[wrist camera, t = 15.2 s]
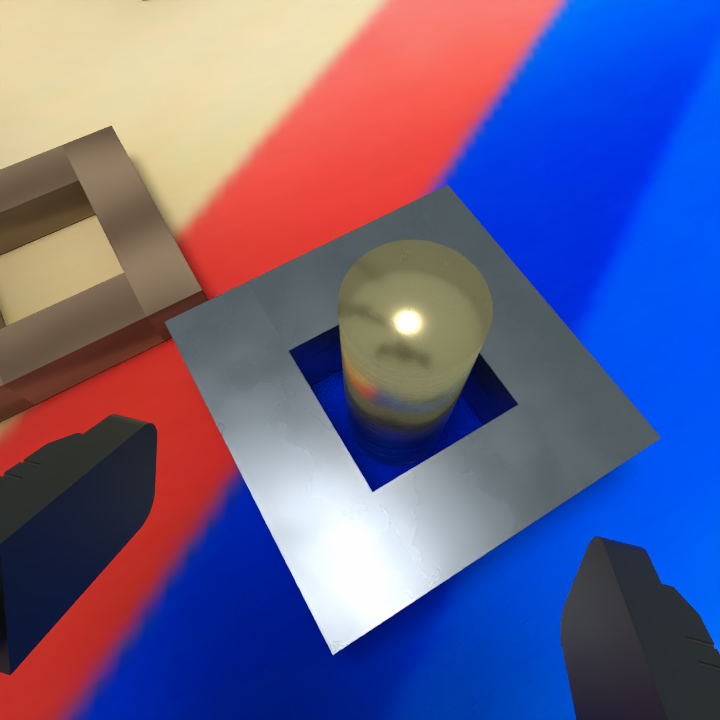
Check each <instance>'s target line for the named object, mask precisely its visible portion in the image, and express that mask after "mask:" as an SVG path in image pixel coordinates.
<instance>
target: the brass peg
mask: <svg viewBox="0 0 720 720" xmlns="http://www.w3.org/2000/svg"><path fill="white" fill-rule="evenodd" d="M492 316H493V303H492V298H491V293H490V290H489V288H488V285H487V283H486V281H485V279H484V277H483V276H482V274H481V273H480V272H479V270H478V269H477V268H476V267H475V266H474V265H473V264H472V263H471V262H470V261H469V260H468V259H467V258H466V257H464V256H463V255H461V254H460V253H458V252H457V251H455V250H453V249H451V248H449V247H446V246H444V245H441V244H438V243H434V242H430V241H424V240H401V241H395V242H391V243H387V244H384V245H381V246H379V247H377V248H374V249H373V250H371V251H369V252H367V253H366V254H365V255H363V256H362V257H361V258H359V259H358V260H357V261H356V262H355V263H354V264H353V265H352V267H351V268H350V269H349V271H348V272H347V274H346V276H345V277H344V279H343V281H342V284H341V286H340V290H339V295H338V317H339V330H340V342H341V355H342V367H343V380H344V392H345V405H346V417H347V426H348V431H349V433H350V436H351V438H352V440H353V442H354V443H355V445H356V446H357V447H358V448H359V450H360V451H361V452H363V453H364V454H365V455H366V456H368V457H369V458H371V459H373V460H375V461H377V462H379V463H383V464H387V465H406V464H410V463H413V462H416V461H418V460H420V459H422V458H423V457H425V456H426V455H428V454H429V453H430V452H431V451H432V450H433V448H434V447H435V446H436V445H437V443H438V441H439V439H440V437H441V435H442V433H443V431H444V428H445V426H446V424H447V422H448V420H449V417H450V415H451V413H452V411H453V409H454V407H455V404H456V402H457V400H458V398H459V396H460V393H461V391H462V389H463V387H464V385H465V383H466V380H467V378H468V376H469V374H470V372H471V369H472V367H473V365H474V363H475V361H476V359H477V356H478V354H479V352H480V350H481V348H482V345H483V343H484V341H485V339H486V337H487V334H488V332H489V330H490V326H491V322H492Z"/></svg>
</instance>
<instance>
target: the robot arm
mask: <svg viewBox="0 0 720 720" xmlns="http://www.w3.org/2000/svg"><path fill="white" fill-rule="evenodd" d="M156 453H157V430H156V427H155V425H153V424H152V423H148V422H144V421H140V420H136V419H132V418H128V417H124V416H120V415H116V414H113V415H110V416H108V417H107V418H105V419H104V420H102V421H101V422H100V423H98V424H97V425H95V426H94V427H93V428H91V429H90V430H88V431H87V432H86V433H84V434H80V433H76V434H73V435H70V436H67V437H64V438H62V439H59V440H56V441H53V442H50V443H48V444H46V445H45V446H43V447H42V448H40V449H39V450H37V451H36V452H34V453H33V454H31V455H30V456H28V457H27V458H25V459H24V462H23V463H20V462H19V463H18V464H16V465H15V466H14V467H12V468H11V469H9V470H8V471H6V472H5V474H4V476H3V477H1V476H0V672H2V673H5V674H8V675H11V674H12V673H13V672H14V670H15V669H16V668H17V667H18V666H19V665H20V664H21V663H22V661H23V660H24V659H25V658H26V657H27V656H28V655H29V653H30V652H31V651H32V650H33V649H34V648H35V647H36V646H37V644H38V643H39V642H40V641H41V640H42V639H43V638H44V637H45V635H46V634H47V633H48V632H49V631H50V630H51V629H52V627H53V626H54V625H55V624H56V623H57V622H58V621H59V620H60V618H61V617H62V616H63V615H64V614H65V613H66V612H67V611H68V609H69V608H70V607H71V606H72V605H73V604H74V603H75V601H76V600H77V599H78V598H79V597H80V596H81V595H82V594H83V592H84V591H85V590H86V589H87V588H88V587H89V586H90V585H91V583H92V582H93V581H94V580H95V579H96V578H97V577H98V575H99V574H100V573H101V572H102V571H103V570H104V569H105V568H106V566H107V565H108V564H109V563H110V562H111V561H112V560H113V559H114V557H115V556H116V555H117V554H118V553H119V552H120V551H121V549H122V548H123V547H124V546H125V545H126V544H127V543H128V542H129V540H130V539H131V538H132V537H133V536H134V535H135V534H136V533H137V531H138V530H139V529H140V528H141V527H142V525H143V524H144V522H145V521H146V519H147V517H148V515H149V513H150V510H151V508H152V504H153V501H154V495H155V476H156ZM561 643H562V649H563V654H564V659H565V664H566V669H567V674H568V679H569V684H570V689H571V694H572V699H573V704H574V709H575V714H576V719H577V720H720V654H719V652H718V650H717V649H714V647H713V646H714V643H713V641H712V639H711V637H710V635H709V633H708V631H707V629H706V627H705V625H704V623H703V621H702V619H701V617H700V615H699V614H698V613H697V612H696V611H695V610H694V609H693V608H692V606H691V605H690V604H689V603H688V602H687V601H686V600H685V599H684V598H683V597H682V596H681V595H680V594H679V592H678V591H677V590H676V589H675V588H674V587H672V586H668V585H664V584H661V582H660V579H659V577H658V575H657V573H656V571H655V569H654V566H653V564H652V562H651V560H650V558H649V556H648V554H647V552H646V551H645V549H643V548H642V547H638V546H634V545H630V544H626V543H622V542H618V541H614V540H610V539H606V538H602V537H598V536H597V537H594V538H593V539H592V540H591V542H590V543H589V545H588V547H587V550H586V552H585V555H584V557H583V560H582V562H581V565H580V567H579V570H578V572H577V575H576V577H575V580H574V582H573V585H572V587H571V590H570V592H569V595H568V597H567V600H566V602H565V605H564V609H563V613H562V619H561Z"/></svg>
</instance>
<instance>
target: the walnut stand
mask: <svg viewBox="0 0 720 720" xmlns="http://www.w3.org/2000/svg"><path fill="white" fill-rule="evenodd" d="M94 214H96V216H97V218H98V220H99V222H100V224H101V226H102V228H103V230H104V232H105V234H106V236H107V238H108V240H109V242H110V244H111V246H112V248H113V250H114V252H115V254H116V256H117V258H118V260H119V262H120V264H121V266H122V268H123V270H124V273H122V274H120V275H118V276H116V277H114V278H111V279H109V280H107V281H105V282H103V283H100V284H98V285H96V286H94V287H92V288H89V289H87V290H85V291H83V292H81V293H78V294H76V295H74V296H72V297H70V298H67V299H65V300H63V301H61V302H59V303H57V304H54V305H52V306H50V307H48V308H46V309H43V310H41V311H39V312H37V313H35V314H32V315H30V316H28V317H26V318H24V319H21V320H19V321H17V322H15V323H13V324H11V325H8V326H5V323H4V320H3V318H2V315H1V312H0V422H1V421H3V420H5V419H7V418H9V417H11V416H13V415H15V414H17V413H19V412H21V411H23V410H25V409H27V408H29V407H31V406H33V405H36V404H38V403H40V402H42V401H44V400H46V399H48V398H50V397H52V396H54V395H56V394H58V393H60V392H62V391H64V390H66V389H68V388H70V387H72V386H74V385H76V384H78V383H80V382H82V381H84V380H86V379H88V378H90V377H93V376H95V375H97V374H99V373H101V372H103V371H105V370H107V369H109V368H111V367H113V366H115V365H117V364H119V363H121V362H123V361H125V360H127V359H129V358H131V357H133V356H135V355H137V354H139V353H141V352H143V351H145V350H148V349H150V348H152V347H154V346H156V345H158V344H160V343H162V342H164V341H166V340H168V339H170V338H172V336H171V334H170V332H169V330H168V328H167V326H166V324H165V321H167V320H169V319H171V318H173V317H175V316H177V315H180V314H182V313H184V312H186V311H188V310H190V309H192V308H194V307H196V306H198V305H200V304H202V303H204V302H206V301H208V300H207V298H206V296H205V294H204V292H203V290H202V289H201V287H200V285H199V283H198V281H197V280H196V278H195V276H194V274H193V272H192V271H191V269H190V267H189V265H188V263H187V261H186V260H185V258H184V256H183V254H182V252H181V251H180V249H179V247H178V245H177V243H176V242H175V240H174V238H173V236H172V234H171V233H170V231H169V229H168V227H167V225H166V223H165V222H164V220H163V218H162V216H161V214H160V213H159V211H158V209H157V207H156V205H155V204H154V202H153V200H152V198H151V196H150V195H149V193H148V191H147V189H146V187H145V186H144V184H143V182H142V180H141V178H140V176H139V175H138V173H137V171H136V169H135V167H134V166H133V164H132V162H131V160H130V158H129V157H128V155H127V153H126V151H125V149H124V148H123V146H122V144H121V142H120V140H119V138H118V137H117V135H116V133H115V131H114V129H113V128H112V126H109V127H107V128H104V129H102V130H99V131H97V132H94V133H92V134H89V135H87V136H84V137H82V138H79V139H77V140H74V141H72V142H69V143H67V144H64V145H61V146H59V147H56V148H54V149H51V150H49V151H46V152H44V153H41V154H39V155H36V156H34V157H31V158H29V159H26V160H24V161H21V162H19V163H16V164H14V165H11V166H8V167H6V168H3V169H1V170H0V255H1V254H3V253H6V252H8V251H10V250H13V249H15V248H17V247H20V246H22V245H24V244H27V243H29V242H31V241H34V240H36V239H38V238H41V237H43V236H45V235H48V234H50V233H52V232H55V231H57V230H59V229H62V228H64V227H66V226H69V225H71V224H73V223H76V222H78V221H80V220H83V219H85V218H87V217H90V216H92V215H94Z"/></svg>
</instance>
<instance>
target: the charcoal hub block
mask: <svg viewBox="0 0 720 720" xmlns="http://www.w3.org/2000/svg"><path fill="white" fill-rule="evenodd" d="M401 240H424V241H430V242H434V243H438V244H441V245H444V246H446V247H449V248H451V249H453V250H455V251H457V252H458V253H460V254H461V255H463V256H464V257H466V258H467V259H468V260H469V261H470V262H471V263H472V264H473V265H474V266H475V267H476V268H477V269H478V270H479V272H480V273H481V274H482V276H483V277H484V279H485V281H486V283H487V285H488V288H489V290H490V293H491V298H492V303H493V316H492V322H491V326H490V330H489V332H488V334H487V337H486V339H485V341H484V343H483V345H482V348H481V350H480V352H479V354H478V356H477V359H476V361H475V363H474V365H473V367H472V369H471V372H470V374H469V376H468V378H467V380H466V383H465V385H464V387H463V389H462V391H461V394H462V395H463V397H464V398H465V399H466V401H467V402H468V404H469V405H470V406H471V408H472V409H473V411H474V412H475V413H476V415H477V416H478V418H479V419H480V420H481V422H482V423H483V425H484V426H482V427H480V428H479V429H477V430H475V431H474V432H472V433H470V434H469V435H467V436H465V437H464V438H462V439H460V440H459V441H457V442H455V443H454V444H452V445H450V446H449V447H447V448H445V449H444V450H442V451H440V452H439V453H437V454H435V455H434V456H432V457H430V458H429V459H427V460H426V461H424V462H422V463H421V464H419V465H417V466H416V467H414V468H412V469H411V470H409V471H407V472H406V473H404V474H402V475H401V476H399V477H397V478H396V479H394V480H392V481H391V482H389V483H387V484H386V485H384V486H382V487H381V488H379V489H377V490H376V491H374V492H372V490H371V489H370V487H369V485H368V484H367V482H366V480H365V479H364V477H363V475H362V474H361V472H360V470H359V469H358V467H357V465H356V463H355V462H354V460H353V458H352V457H351V455H350V453H349V452H348V450H347V448H346V447H345V445H344V443H343V442H342V440H341V438H340V437H339V435H338V433H337V432H336V430H335V428H334V427H333V425H332V423H331V422H330V420H329V418H328V417H327V415H326V413H325V411H324V410H323V408H322V406H321V405H320V403H319V401H318V400H317V398H316V396H315V395H314V393H313V391H312V390H311V388H310V386H311V385H313V384H314V383H316V382H318V381H320V380H322V379H324V378H326V377H327V376H329V375H331V374H333V373H335V372H337V371H339V370H340V369H342V368H343V367H342V355H341V342H340V330H339V317H338V295H339V290H340V286H341V284H342V281H343V279H344V277H345V276H346V274H347V272H348V271H349V269H350V268H351V267H352V265H353V264H354V263H355V262H356V261H357V260H358V259H359V258H361V257H362V256H363V255H365V254H366V253H367V252H369V251H371V250H373V249H374V248H377V247H379V246H381V245H384V244H387V243H391V242H395V241H401ZM165 324H166V326H167V328H168V330H169V332H170V334H171V336H172V338H173V340H174V342H175V344H176V346H177V348H178V350H179V352H180V354H181V356H182V358H183V360H184V362H185V364H186V366H187V368H188V369H189V371H190V373H191V375H192V377H193V379H194V381H195V383H196V385H197V387H198V389H199V391H200V393H201V395H202V397H203V399H204V401H205V403H206V405H207V407H208V409H209V411H210V413H211V415H212V417H213V419H214V421H215V423H216V425H217V427H218V429H219V431H220V433H221V435H222V437H223V439H224V441H225V443H226V445H227V447H228V449H229V451H230V453H231V454H232V456H233V458H234V460H235V462H236V464H237V466H238V468H239V470H240V472H241V474H242V476H243V478H244V480H245V482H246V484H247V486H248V488H249V490H250V492H251V494H252V496H253V498H254V500H255V502H256V504H257V506H258V508H259V510H260V512H261V514H262V516H263V518H264V520H265V522H266V524H267V526H268V528H269V530H270V532H271V534H272V536H273V538H274V540H275V541H276V543H277V545H278V547H279V549H280V551H281V553H282V555H283V557H284V559H285V561H286V563H287V565H288V567H289V569H290V571H291V573H292V575H293V577H294V579H295V581H296V583H297V585H298V587H299V589H300V591H301V593H302V595H303V597H304V599H305V601H306V603H307V605H308V607H309V609H310V611H311V613H312V615H313V617H314V619H315V621H316V623H317V625H318V626H319V628H320V630H321V632H322V634H323V636H324V638H325V640H326V642H327V644H328V646H329V648H330V650H331V652H332V654H333V655H334V654H335V653H337V652H338V651H340V650H341V649H343V648H344V647H346V646H347V645H349V644H350V643H352V642H353V641H355V640H356V639H358V638H359V637H361V636H362V635H364V634H365V633H367V632H368V631H370V630H371V629H373V628H374V627H376V626H377V625H379V624H381V623H382V622H384V621H385V620H387V619H388V618H390V617H391V616H393V615H394V614H396V613H397V612H399V611H400V610H402V609H403V608H405V607H406V606H408V605H409V604H411V603H412V602H414V601H415V600H417V599H418V598H420V597H421V596H423V595H424V594H426V593H427V592H429V591H430V590H432V589H433V588H435V587H436V586H438V585H439V584H441V583H443V582H444V581H446V580H447V579H449V578H450V577H452V576H453V575H455V574H456V573H458V572H459V571H461V570H462V569H464V568H465V567H467V566H468V565H470V564H471V563H473V562H474V561H476V560H477V559H479V558H480V557H482V556H483V555H485V554H486V553H488V552H489V551H491V550H492V549H494V548H495V547H497V546H498V545H500V544H501V543H503V542H504V541H506V540H508V539H509V538H511V537H512V536H514V535H515V534H517V533H518V532H520V531H521V530H523V529H524V528H526V527H527V526H529V525H530V524H532V523H533V522H535V521H536V520H538V519H539V518H541V517H542V516H544V515H545V514H547V513H548V512H550V511H551V510H553V509H554V508H556V507H557V506H559V505H560V504H562V503H563V502H565V501H566V500H568V499H570V498H571V497H573V496H574V495H576V494H577V493H579V492H580V491H582V490H583V489H585V488H586V487H588V486H589V485H591V484H592V483H594V482H595V481H597V480H598V479H600V478H601V477H603V476H604V475H606V474H607V473H609V472H610V471H612V470H613V469H615V468H616V467H618V466H619V465H621V464H622V463H624V462H625V461H627V460H628V459H630V458H631V457H633V456H635V455H636V454H638V453H639V452H641V451H642V450H644V449H645V448H647V447H648V446H650V445H651V444H653V443H654V442H656V441H657V440H659V439H660V438H661V437H660V436H659V435H658V433H657V432H656V431H655V430H654V429H653V427H652V426H651V425H650V424H649V423H648V422H647V420H646V419H645V418H644V417H643V416H642V414H641V413H640V412H639V411H638V410H637V408H636V407H635V406H634V405H633V404H632V403H631V401H630V400H629V399H628V398H627V397H626V395H625V394H624V393H623V392H622V391H621V390H620V388H619V387H618V386H617V385H616V384H615V382H614V381H613V380H612V379H611V378H610V376H609V375H608V374H607V373H606V372H605V371H604V369H603V368H602V367H601V366H600V365H599V363H598V362H597V361H596V360H595V359H594V358H593V356H592V355H591V354H590V353H589V352H588V350H587V349H586V348H585V347H584V346H583V344H582V343H581V342H580V341H579V340H578V339H577V337H576V336H575V335H574V334H573V333H572V331H571V330H570V329H569V328H568V327H567V326H566V324H565V323H564V322H563V321H562V320H561V318H560V317H559V316H558V315H557V314H556V312H555V311H554V310H553V309H552V308H551V307H550V305H549V304H548V303H547V302H546V301H545V299H544V298H543V297H542V296H541V295H540V294H539V292H538V291H537V290H536V289H535V288H534V286H533V285H532V284H531V283H530V282H529V281H528V279H527V278H526V277H525V276H524V275H523V273H522V272H521V271H520V270H519V269H518V267H517V266H516V265H515V264H514V263H513V262H512V260H511V259H510V258H509V257H508V256H507V254H506V253H505V252H504V251H503V250H502V249H501V247H500V246H499V245H498V244H497V243H496V241H495V240H494V239H493V238H492V237H491V235H490V234H489V233H488V232H487V231H486V230H485V228H484V227H483V226H482V225H481V224H480V222H479V221H478V220H477V219H476V218H475V217H474V215H473V214H472V213H471V212H470V211H469V209H468V208H467V207H466V206H465V205H464V203H463V202H462V201H461V200H460V199H459V198H458V196H457V195H456V194H455V193H454V192H453V190H452V189H451V188H450V187H449V186H448V185H446V186H444V187H442V188H440V189H438V190H436V191H434V192H432V193H430V194H428V195H426V196H424V197H422V198H420V199H418V200H415V201H413V202H411V203H409V204H407V205H405V206H403V207H401V208H399V209H397V210H395V211H393V212H391V213H389V214H386V215H384V216H382V217H380V218H378V219H376V220H374V221H372V222H370V223H368V224H366V225H364V226H362V227H360V228H358V229H355V230H353V231H351V232H349V233H347V234H345V235H343V236H341V237H339V238H337V239H335V240H333V241H331V242H329V243H326V244H324V245H322V246H320V247H318V248H316V249H314V250H312V251H310V252H308V253H306V254H304V255H302V256H300V257H298V258H295V259H293V260H291V261H289V262H287V263H285V264H283V265H281V266H279V267H277V268H275V269H273V270H271V271H269V272H266V273H264V274H262V275H260V276H258V277H256V278H254V279H252V280H250V281H248V282H246V283H244V284H242V285H240V286H237V287H235V288H233V289H231V290H229V291H227V292H225V293H223V294H221V295H219V296H217V297H215V298H213V299H211V300H209V301H206V302H204V303H202V304H200V305H198V306H196V307H194V308H192V309H190V310H188V311H186V312H184V313H182V314H180V315H177V316H175V317H173V318H171V319H169V320H167V321H165Z"/></svg>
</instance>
